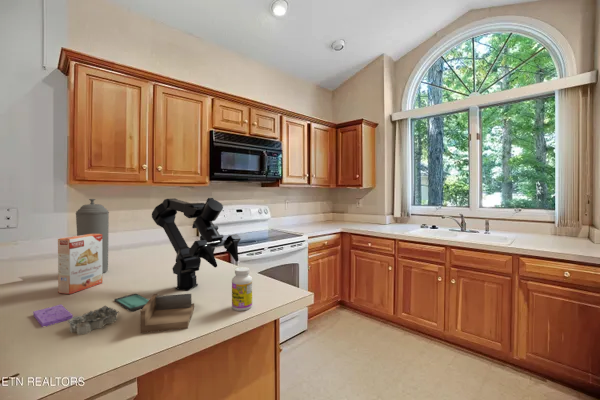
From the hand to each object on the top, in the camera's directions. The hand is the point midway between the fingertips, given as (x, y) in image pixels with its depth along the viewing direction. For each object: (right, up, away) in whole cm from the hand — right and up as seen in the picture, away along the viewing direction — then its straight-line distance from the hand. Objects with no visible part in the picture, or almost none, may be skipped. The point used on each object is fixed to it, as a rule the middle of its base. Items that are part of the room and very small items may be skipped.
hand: (227, 263), depth 97 cm
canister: (-72, -13, +36) cm, 82 cm away
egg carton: (-34, -14, -16) cm, 40 cm away
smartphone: (-32, -14, 0) cm, 35 cm away
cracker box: (-62, -13, +15) cm, 65 cm away
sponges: (-51, -14, -11) cm, 54 cm away
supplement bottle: (+6, -14, -4) cm, 15 cm away
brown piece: (-14, -14, -13) cm, 24 cm away
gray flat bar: (-14, -12, -9) cm, 21 cm away
